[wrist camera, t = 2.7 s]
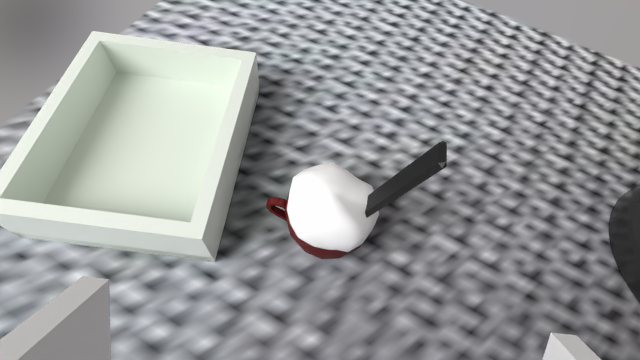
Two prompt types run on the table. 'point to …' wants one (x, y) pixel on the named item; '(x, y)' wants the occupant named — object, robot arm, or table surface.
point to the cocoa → (345, 203)
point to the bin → (135, 148)
